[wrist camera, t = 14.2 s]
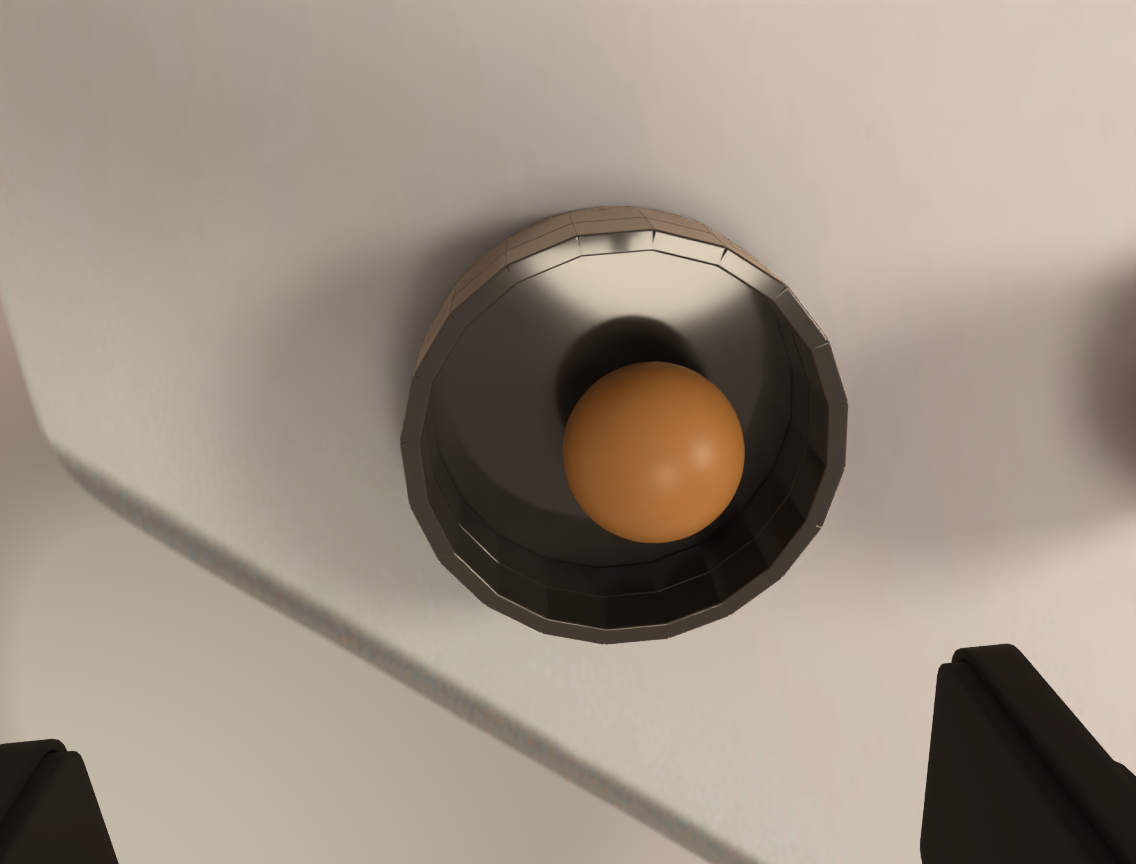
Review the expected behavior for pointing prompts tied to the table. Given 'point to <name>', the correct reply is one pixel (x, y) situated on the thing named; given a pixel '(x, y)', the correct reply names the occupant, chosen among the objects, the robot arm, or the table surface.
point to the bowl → (559, 379)
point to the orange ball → (653, 452)
